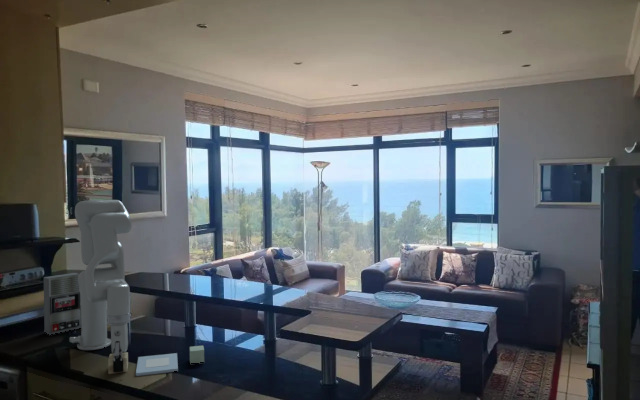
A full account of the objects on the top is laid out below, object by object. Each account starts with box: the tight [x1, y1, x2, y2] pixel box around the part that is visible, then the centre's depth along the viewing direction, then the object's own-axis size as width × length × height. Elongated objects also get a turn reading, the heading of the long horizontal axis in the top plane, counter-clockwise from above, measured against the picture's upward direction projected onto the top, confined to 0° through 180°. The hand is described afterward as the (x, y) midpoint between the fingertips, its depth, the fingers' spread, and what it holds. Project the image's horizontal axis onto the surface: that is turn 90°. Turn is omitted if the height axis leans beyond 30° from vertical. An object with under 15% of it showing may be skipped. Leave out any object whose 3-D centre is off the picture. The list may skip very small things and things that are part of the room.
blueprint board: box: [135, 352, 179, 377], centre depth 175 cm, size 14×16×1 cm
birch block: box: [107, 351, 129, 375], centre depth 171 cm, size 6×6×5 cm
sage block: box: [189, 345, 205, 365], centre depth 179 cm, size 5×5×5 cm
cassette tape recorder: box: [43, 272, 81, 336], centre depth 214 cm, size 14×6×25 cm, turn 141°
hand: (119, 367), depth 171 cm, fingers closed on birch block, 6 cm apart
